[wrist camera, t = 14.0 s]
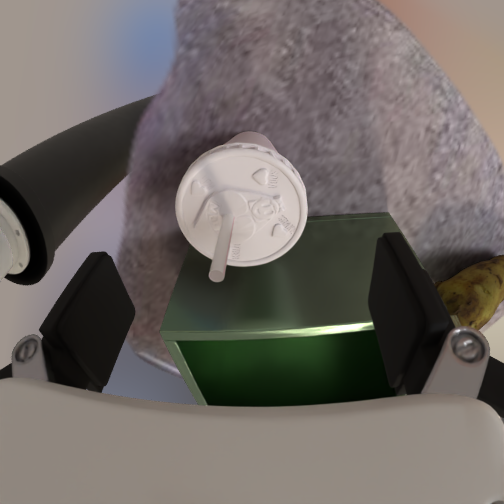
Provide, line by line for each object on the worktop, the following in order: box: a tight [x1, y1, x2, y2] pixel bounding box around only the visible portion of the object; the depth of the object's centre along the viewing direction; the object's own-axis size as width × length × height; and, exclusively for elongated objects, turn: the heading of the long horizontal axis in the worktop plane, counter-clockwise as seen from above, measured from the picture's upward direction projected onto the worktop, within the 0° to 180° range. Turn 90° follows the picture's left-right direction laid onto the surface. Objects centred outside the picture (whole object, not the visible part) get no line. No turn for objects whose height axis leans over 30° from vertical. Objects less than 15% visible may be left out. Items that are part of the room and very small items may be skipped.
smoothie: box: [175, 131, 308, 282], centre depth 16 cm, size 6×6×14 cm
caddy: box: [160, 212, 444, 407], centre depth 24 cm, size 17×14×12 cm
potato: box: [434, 255, 504, 330], centre depth 24 cm, size 8×13×8 cm, turn 86°
